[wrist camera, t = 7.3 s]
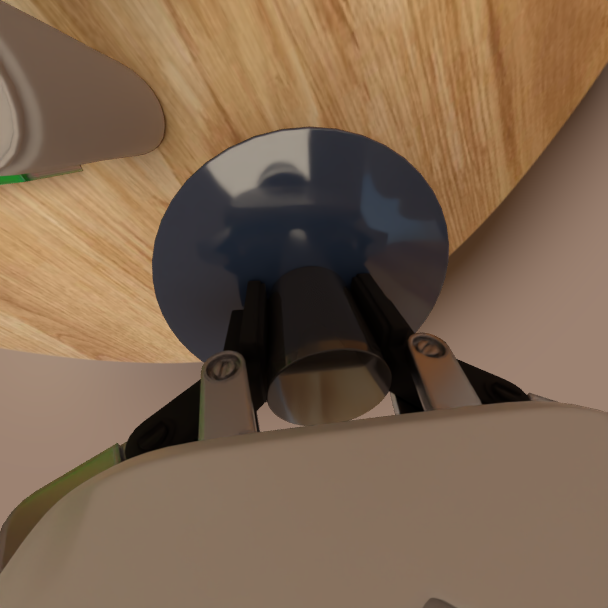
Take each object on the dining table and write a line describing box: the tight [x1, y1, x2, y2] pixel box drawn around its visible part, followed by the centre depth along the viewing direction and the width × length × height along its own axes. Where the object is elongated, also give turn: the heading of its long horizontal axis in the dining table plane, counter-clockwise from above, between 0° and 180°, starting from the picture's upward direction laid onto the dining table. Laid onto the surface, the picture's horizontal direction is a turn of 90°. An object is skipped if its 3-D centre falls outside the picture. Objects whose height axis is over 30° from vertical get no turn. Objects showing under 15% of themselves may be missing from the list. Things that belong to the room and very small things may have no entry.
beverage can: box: [0, 0, 165, 176], centre depth 11 cm, size 5×5×12 cm
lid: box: [152, 127, 449, 426], centre depth 10 cm, size 14×14×6 cm
